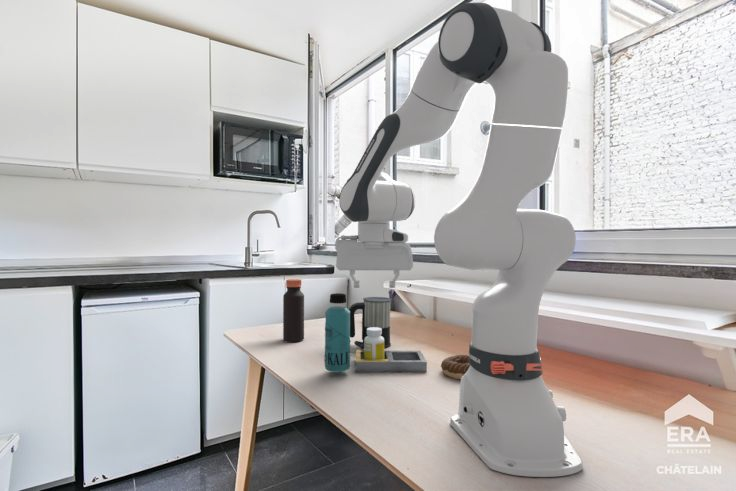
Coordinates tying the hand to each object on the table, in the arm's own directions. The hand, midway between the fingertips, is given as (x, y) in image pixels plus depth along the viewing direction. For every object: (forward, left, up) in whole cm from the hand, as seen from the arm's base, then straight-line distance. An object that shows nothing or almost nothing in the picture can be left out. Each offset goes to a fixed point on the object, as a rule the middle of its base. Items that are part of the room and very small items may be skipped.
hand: (374, 287), depth 100 cm
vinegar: (+26, +26, -21) cm, 42 cm away
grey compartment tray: (0, -4, -21) cm, 21 cm away
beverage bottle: (-6, +9, -21) cm, 24 cm away
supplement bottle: (0, 0, -21) cm, 21 cm away
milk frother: (+16, 0, -21) cm, 27 cm away
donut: (-6, -22, -21) cm, 31 cm away
